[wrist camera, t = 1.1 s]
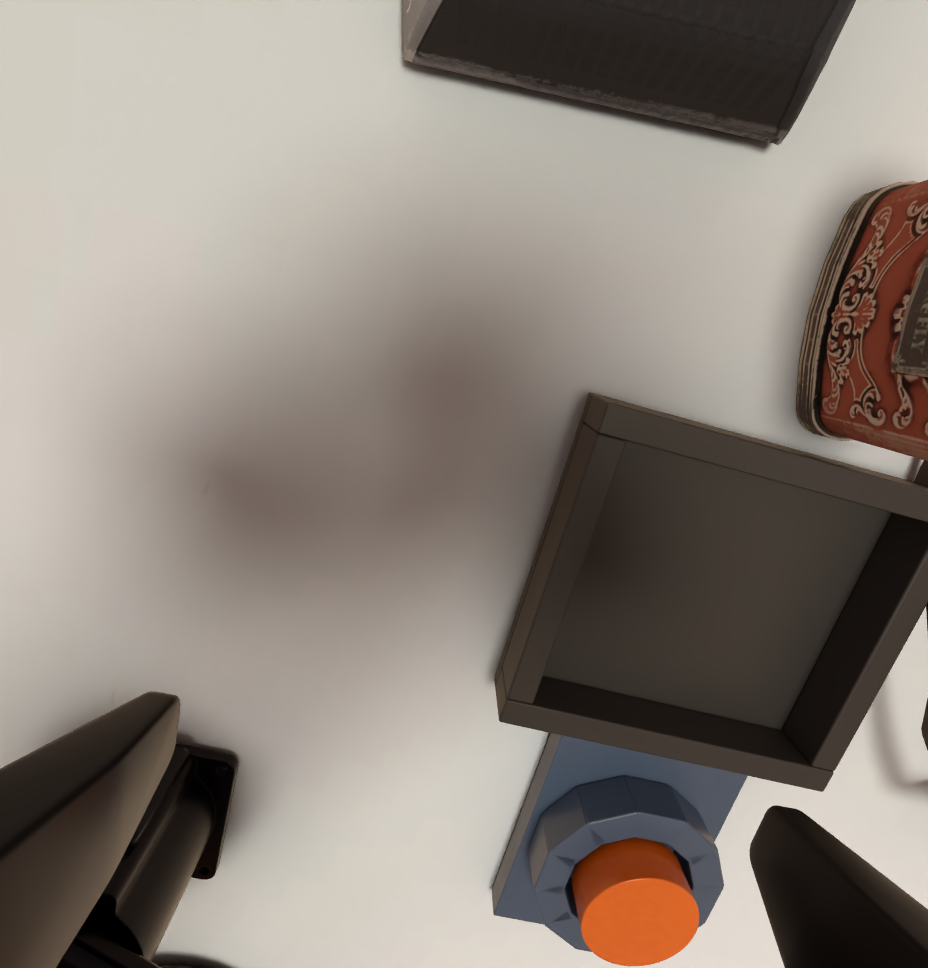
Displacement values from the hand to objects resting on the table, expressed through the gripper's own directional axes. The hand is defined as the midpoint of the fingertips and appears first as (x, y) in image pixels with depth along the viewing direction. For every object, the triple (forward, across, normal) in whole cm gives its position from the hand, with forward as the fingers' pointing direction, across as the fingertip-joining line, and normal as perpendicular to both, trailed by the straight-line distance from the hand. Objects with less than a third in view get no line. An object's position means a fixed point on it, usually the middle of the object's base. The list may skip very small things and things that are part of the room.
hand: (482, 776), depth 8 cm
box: (+13, -10, +13) cm, 21 cm away
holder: (+13, -10, +1) cm, 16 cm away
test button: (+10, -10, +13) cm, 19 cm away
